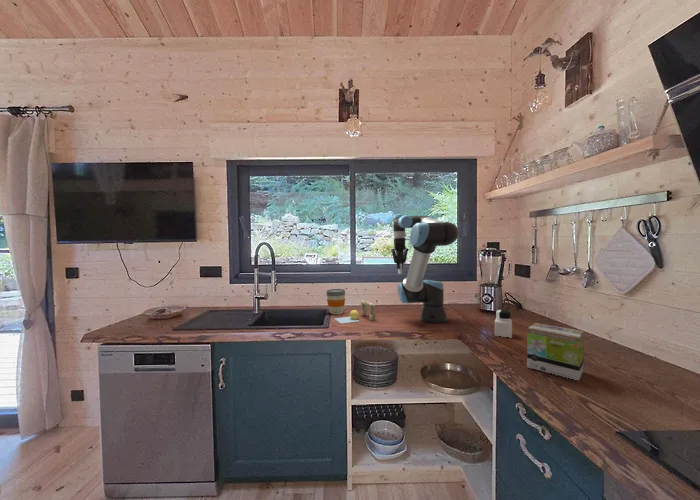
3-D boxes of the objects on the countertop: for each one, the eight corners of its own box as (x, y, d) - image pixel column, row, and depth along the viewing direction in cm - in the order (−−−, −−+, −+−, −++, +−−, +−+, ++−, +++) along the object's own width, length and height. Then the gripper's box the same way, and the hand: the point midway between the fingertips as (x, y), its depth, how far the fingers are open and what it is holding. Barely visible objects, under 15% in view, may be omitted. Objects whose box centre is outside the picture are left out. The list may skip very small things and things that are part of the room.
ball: (354, 309, 170) (349, 317, 170) (361, 314, 172) (356, 322, 171) (351, 307, 176) (346, 314, 175) (358, 311, 177) (353, 319, 176)
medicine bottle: (512, 334, 140) (511, 309, 140) (511, 338, 134) (511, 313, 134) (495, 332, 144) (495, 308, 143) (494, 336, 138) (494, 311, 137)
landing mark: (359, 321, 168) (359, 321, 168) (340, 323, 164) (340, 323, 164) (352, 316, 180) (352, 316, 180) (334, 318, 175) (334, 318, 175)
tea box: (526, 368, 102) (526, 327, 102) (533, 360, 109) (533, 321, 109) (580, 382, 92) (580, 336, 91) (584, 372, 99) (584, 329, 98)
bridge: (365, 314, 184) (365, 300, 184) (375, 320, 170) (374, 304, 170) (361, 315, 183) (360, 300, 183) (370, 320, 169) (370, 305, 169)
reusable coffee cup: (323, 313, 189) (322, 290, 189) (335, 309, 199) (334, 288, 199) (337, 316, 182) (337, 292, 181) (349, 312, 192) (349, 289, 191)
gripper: (404, 238, 194) (405, 272, 194) (388, 238, 188) (388, 273, 189) (411, 237, 187) (411, 273, 187) (394, 237, 182) (394, 274, 182)
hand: (400, 273), depth 188 cm, fingers closed
